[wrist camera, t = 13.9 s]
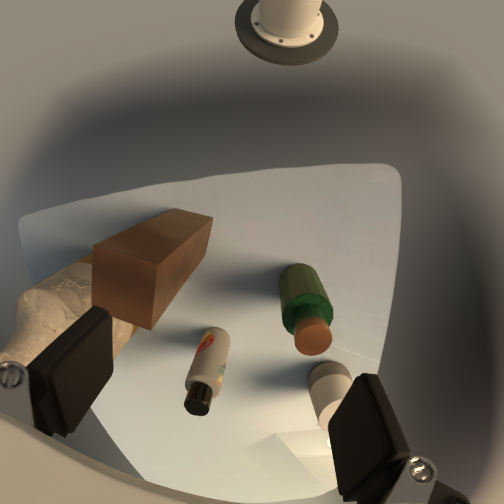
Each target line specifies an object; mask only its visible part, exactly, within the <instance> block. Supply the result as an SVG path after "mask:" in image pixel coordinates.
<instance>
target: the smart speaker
mask: <svg viewBox="0 0 504 504" xmlns="http://www.w3.org/2000/svg"><path fill="white" fill-rule="evenodd" d="M352 383H353V382H352V378H351V375H350V373H349V371H348V370H347V368H346V367H345V366H344V365H342V364H340V363H337V362H326V363H322V364H320V365H318V366H317V367H316V368H315V369H314V370H313V371H312V372H311V374H310V376H309V380H308V389H309V393H310V397H311V400H312V404H313V407H314V410H315V413H316V416H317V419H318V423H319V425H320V427H321V428H322V429H324V430H326V431H328V423H329V420H330V419H331V417H332V416H333V414H334V413H335V411H336V410H337V408H338V406H339V405H340V403H341V402H342V400H343V398H344V397H345V395H346V393H347V392H348V390H349V388H350V387H351V385H352Z"/></svg>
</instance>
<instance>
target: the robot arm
mask: <svg viewBox="0 0 504 504" xmlns="http://www.w3.org/2000/svg"><path fill="white" fill-rule="evenodd" d="M321 3H322V0H259V3H258V4H257V5H256V6H255V7H254V9H253V11H252V14H251V23H252V27H253V29H254V31H255V32H256V33H257V35H258V36H259V37H261V38H262V39H263V40H265V41H266V42H268V43H270V44H273V45H276V46H279V47H286V48H296V47H302V46H305V45H308V44H310V43H312V42H313V41H315V40H316V39H317V38H318V37H319V35H320V34H321V32H322V29H323V25H324V24H323V17H322V14H321V12H320V11H319V9H320V6H321ZM256 25H258V26H256ZM311 37H312V38H311ZM279 42H282V43H279ZM112 324H113V319H112V316H111V315H109V311H108V310H106V309H104V308H101V307H99V306H96V305H94V306H92V307H91V308H90V309H89V310H88V311H87V312H85V313H84V314H83V315H82V316H81V317H80V318H79V319H77V320H76V321H75V322H74V323H73V324H72V325H71V326H70V327H68V328H67V329H66V330H65V331H64V332H63V333H61V334H60V335H59V336H58V337H57V338H56V339H55V340H54V341H53V342H52V343H51V344H49V345H48V346H47V347H46V348H45V349H44V350H43V351H42V352H41V353H40V354H39V355H38V356H37V357H36V358H35V359H33V360H32V361H31V362H30V363H29V364H28V365H27V366H26V367H25V366H24V365H22V364H21V363H19V362H17V361H11V360H10V361H4V362H1V363H0V504H240V503H233V502H227V501H222V500H216V499H211V498H206V497H202V496H197V495H193V494H189V493H185V492H181V491H177V490H174V489H170V488H167V487H164V486H160V485H157V484H154V483H151V482H148V481H145V480H142V479H139V478H136V477H133V476H131V475H128V474H126V473H123V472H121V471H118V470H116V469H113V468H111V467H109V466H107V465H104V464H102V463H100V462H98V461H95V460H93V459H91V458H89V457H87V456H85V455H83V454H81V453H79V452H77V451H75V450H73V449H71V448H69V447H67V446H66V445H64V444H62V443H60V442H58V441H56V440H54V439H53V438H51V436H52V435H53V434H54V433H57V434H59V435H60V436H62V437H64V438H65V437H66V436H67V434H68V433H73V432H74V431H75V429H76V428H77V426H78V425H79V423H80V422H81V420H82V418H83V417H84V415H85V414H86V412H87V411H88V409H89V408H90V406H91V405H92V404H93V402H94V401H95V399H96V398H97V396H98V395H99V393H100V392H101V390H102V389H103V387H104V386H105V384H106V383H107V382H108V380H109V379H110V377H111V376H112V373H113V331H112ZM328 432H329V437H330V443H331V449H332V454H333V460H334V466H335V472H336V478H337V484H338V491H339V494H340V495H343V501H344V502H351V501H357V504H470V502H469V500H468V498H467V497H466V496H465V495H463V494H462V493H460V492H458V491H456V490H454V489H452V488H450V487H448V486H446V485H445V484H443V483H441V482H439V481H437V480H436V479H437V469H436V467H435V465H434V464H433V463H432V462H431V461H430V460H429V459H427V458H425V457H422V456H415V457H412V458H410V457H409V453H410V449H409V447H408V444H407V442H406V439H405V437H404V435H403V432H402V430H401V427H400V425H399V423H398V420H397V418H396V415H395V413H394V411H393V409H392V406H391V404H390V402H389V400H388V397H387V395H386V393H385V391H384V388H383V386H382V384H381V382H380V380H379V378H378V376H377V375H376V374H368V373H362V374H361V375H360V376H357V377H356V378H355V380H354V382H353V383H352V385H351V387H350V388H349V390H348V392H347V393H346V395H345V397H344V398H343V400H342V402H341V403H340V405H339V406H338V408H337V410H336V411H335V413H334V414H333V416H332V417H331V419H330V420H329V423H328Z"/></svg>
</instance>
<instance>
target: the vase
mask: <svg viewBox="0 0 504 504" xmlns="http://www.w3.org/2000/svg"><path fill="white" fill-rule="evenodd" d="M92 257H93V253H91V254H89V255H87V256H85V257H84V258H82V259H80V260H78V261H76V262H74V263H72V264H71V265H69V266H67V267H65V268H63V269H61V270H60V271H58V272H56V273H54V274H53V275H51V276H49V277H47V278H46V279H44V280H42V281H40V282H39V283H37V284H35V285H34V286H32V287H31V288H29V289H27V290H25V291H24V292H23V293H22V294H21V295H20V297H19V299H18V301H17V305H16V321H17V326H18V327H17V330H16V332H15V333H14V335H13V336H12V338H11V339H10V341H9V342H8V343H7V345H6V346H5V347H4V349H3V350H2V351H1V353H0V363H1V362H4V361H10V360H11V361H17V362H19V363H21V364H22V365H24V366H25V367H26V366H27V365H28V364H29V363H30V362H31V361H32V360H33V359H35V358H36V357H37V356H38V355H39V354H40V353H41V352H42V351H43V350H44V349H45V348H46V347H47V346H48V345H49V344H51V343H52V342H53V341H54V340H55V339H56V338H57V337H58V336H59V335H60V334H61V333H63V332H64V331H65V330H66V329H67V328H68V327H70V326H71V325H72V324H73V323H74V322H75V321H76V320H77V319H79V318H80V317H81V316H82V315H83V314H84V313H85V312H87V311H88V310H89V309H90V308H91V285H92ZM112 319H113V324H112V331H113V360H114V359H115V357H116V356H117V355H118V353H119V352H120V351H121V349H122V348H123V347H124V346H125V344H126V343H127V342H128V340H129V339H130V338H131V336H132V335H133V334H134V333H135V331H136V330H137V329H138V327H139V326H136V325H133V324H130V323H127V322H125V321H122V320H119V319H117V318H114V317H112Z"/></svg>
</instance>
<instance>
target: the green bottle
mask: <svg viewBox="0 0 504 504" xmlns="http://www.w3.org/2000/svg"><path fill="white" fill-rule="evenodd" d="M279 288H280V299H281V310H282V320H283V325H284V327H285V328H286V330H287V331H288V332H289V333H291V334H292V335H294V330H295V327H296V326H297V324H298V323H299V322H300V321H302V320H303V319H306V318H309V317H318V318H321V319H323V320H325V321H326V322H327V324H328V326H330V324H331V322H332V319H333V307H332V305H331V303H330V301H329V298H328V296H327V294H326V292H325V290H324V287H323V285H322V283H321V281H320V279H319V277H318V275H317V273H316V271H315V270H314V269H313V268H312V267H310V266H309V265H306V264H294V265H291V266H289V267H288V268H286V269H285V270H284V271H283V273H282V274H281V277H280V280H279Z"/></svg>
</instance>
